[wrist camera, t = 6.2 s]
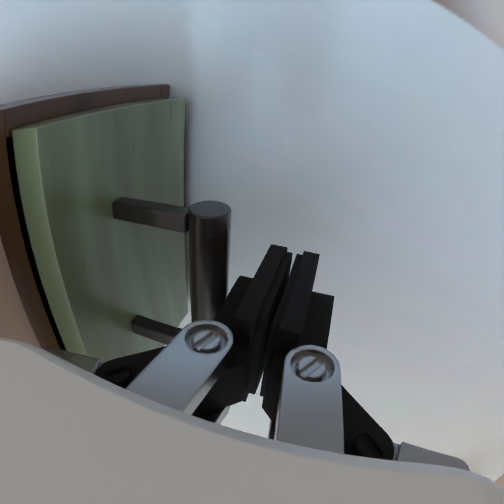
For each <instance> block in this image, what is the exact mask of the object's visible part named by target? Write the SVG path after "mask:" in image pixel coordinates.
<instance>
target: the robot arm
mask: <svg viewBox="0 0 504 504" xmlns="http://www.w3.org/2000/svg"><path fill="white" fill-rule="evenodd" d="M319 255H320V254H316V253H311V252H306V251H304V253H303V255H300V254H297V255H296V258H295V261H294V264H293V267H292V270H291V273H290V267H291V260H292V253H290V252H287V247H282V246H277V245H272V244H271V245H270V247H269V249H268V251H267V253H266V255H265V257H264V259H263V261H262V263H261V265H260V267H259V268H258V270H257V272H256V274H255V276H254V278H249V277H245V276H239V278H238V279H237V281H236V282H235V284H234V286H233V288H232V289H231V291H230V293H229V294H228V296H227V298H226V299H225V301H224V303H223V304H222V306H221V308H220V309H219V311H218V313H217V314H216V316H215V318H214V319H213V320H199V321H195V322H192V323H190V324H188V325H187V326H185V327H184V328H183V329H182V330H181V331H180V332H179V333H178V334H177V335H176V336H175V337H174V338H173V339H172V340H171V342H170V343H169V344H168V345H167V346H164V347H160V348H156V349H152V350H148V351H144V352H140V353H136V354H132V355H128V356H124V357H120V358H116V359H112V360H109V361H107V362H105V363H101V360H100V359H98V358H94V357H89V356H85V355H81V354H76V353H72V352H68V351H64V350H60V349H57V348H53V347H44V348H39V347H36V346H34V345H31V344H29V343H25V342H22V341H18V340H15V339H8V338H0V504H504V489H503V488H502V487H500V486H499V485H498V484H496V483H495V482H494V481H492V480H490V479H488V478H486V477H483V476H481V475H479V474H476V473H473V472H470V470H469V467H468V465H467V464H466V463H465V462H464V461H463V460H461V459H459V458H456V457H452V456H449V455H445V454H441V453H438V452H434V451H431V450H427V449H424V448H421V447H417V446H414V445H411V444H408V443H405V442H402V443H401V444H400V445H399V444H396V443H393V442H392V440H391V438H390V437H389V436H388V434H387V433H386V432H385V431H384V430H383V429H382V428H381V427H380V426H379V425H378V424H377V423H376V422H375V420H374V419H373V418H372V417H371V416H370V415H369V414H368V413H367V412H366V411H365V410H364V409H363V408H362V407H361V406H360V404H359V403H358V402H357V401H356V400H355V399H354V398H353V397H352V396H351V395H350V394H349V393H348V392H347V390H346V389H345V388H344V387H343V386H342V385H341V374H340V365H339V362H338V360H337V358H336V357H335V356H334V355H333V354H332V353H331V352H330V351H328V350H327V343H328V336H329V330H330V323H331V316H332V309H333V302H334V296H331V295H326V294H322V293H317V292H312V289H313V284H314V280H315V275H316V270H317V265H318V260H319ZM289 273H290V275H289ZM263 371H264V373H263ZM262 374H263V379H262V385H261V391H260V396H263V397H264V398H263V404H262V408H263V409H264V411H265V412H266V414H267V415H268V416H269V418H270V419H271V420H270V424H269V432H268V438H264V437H261V436H257V435H253V434H249V433H246V432H242V431H239V430H235V429H232V428H229V427H225V426H222V425H220V424H221V422H222V421H223V419H224V418H225V416H226V415H227V413H228V411H229V409H230V405H233V404H235V403H238V402H241V401H244V402H246V399H247V397H248V394H249V393H252V394H255V393H256V390H257V388H258V385H259V382H260V379H261V377H262Z"/></svg>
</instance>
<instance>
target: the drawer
mask: <svg viewBox="0 0 504 504" xmlns="http://www.w3.org/2000/svg"><path fill="white" fill-rule="evenodd" d="M184 129H185V98H156V99H149V100H142V101H135V102H129V103H123V104H117V105H111V106H106V107H100V108H95V109H91V110H86V111H81V112H77V113H72V114H68V115H64V116H60V117H56V118H52V119H48V120H44V121H41V122H37V123H33V124H30V125H27V126H23V127H20V128H17V129H14V130H13V131H12V135H13V136H12V137H9V138H6V143H7V152H8V160H9V168H10V175H11V181H12V187H13V193H14V198H15V204H16V209H17V213H18V218H19V223H20V227H21V231H22V235H23V239H24V243H25V247H26V251H27V255H28V258H29V262H30V265H31V269H32V272H33V275H34V278H35V282H36V285H37V288H38V291H39V294H40V297H41V300H42V303H43V305H44V308H45V311H46V314H47V316H48V319H49V322H50V324H51V327H52V329H53V332H54V334H55V337H56V339H57V342H58V344H59V346H60V349H61V350H64V351H68V352H72V353H76V354H81V355H85V356H89V357H94V358H98V359H100V360H101V363H105V362H107V361H109V360H112V359H116V358H120V357H124V356H128V355H132V354H136V353H140V352H144V351H148V350H152V349H156V348H160V347H164V345H165V344H166V345H168V344H169V343H170V342H171V340H172V339H173V338H174V337H175V336H176V335H177V334H178V333H179V332H180V331H181V330H182V329H181V328H178V325H179V324H180V322H181V321H182V320H183V318H184V317H185V315H186V314H187V313H188V306H187V287H186V265H185V234H184V233H187V232H188V233H189V271H190V296H191V316H192V322H195V321H199V320H213V319H214V318H215V316H216V314H217V313H218V311H219V309H220V308H221V306H222V304H223V303H224V301H225V299H226V298H227V296H228V273H229V251H230V229H231V208H230V207H229V206H228V205H227V204H224V203H221V202H216V201H202V202H197V203H194V204H192V205H191V206H190V207H189V208H188V207H184Z"/></svg>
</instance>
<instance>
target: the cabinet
mask: <svg viewBox="0 0 504 504" xmlns="http://www.w3.org/2000/svg"><path fill="white" fill-rule="evenodd" d="M156 98H169V85H168V84H158V85H136V86H121V87H109V88H99V89H90V90H82V91H74V92H67V93H60V94H54V95H48V96H42V97H37V98H32V99H27V100H22V101H17V102H13V103H8V104H4V105H0V338H8V339H15V340H18V341H22V342H25V343H29V344H31V345H34V346H36V347H39V348H44V347H53V348H57V349H60V346H59V344H58V342H57V339H56V337H55V334H54V332H53V329H52V327H51V324H50V322H49V319H48V316H47V314H46V311H45V308H44V305H43V303H42V300H41V297H40V294H39V291H38V288H37V285H36V282H35V278H34V275H33V272H32V269H31V265H30V262H29V258H28V255H27V251H26V247H25V243H24V239H23V235H22V231H21V227H20V223H19V218H18V213H17V209H16V204H15V198H14V193H13V187H12V181H11V175H10V168H9V160H8V152H7V143H6V138H9V137H12V136H13V135H12V131H13V130H14V129H17V128H20V127H23V126H27V125H30V124H33V123H37V122H41V121H44V120H48V119H52V118H56V117H60V116H64V115H68V114H72V113H77V112H81V111H86V110H91V109H95V108H100V107H106V106H111V105H117V104H123V103H129V102H135V101H142V100H149V99H156ZM60 350H61V349H60Z"/></svg>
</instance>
